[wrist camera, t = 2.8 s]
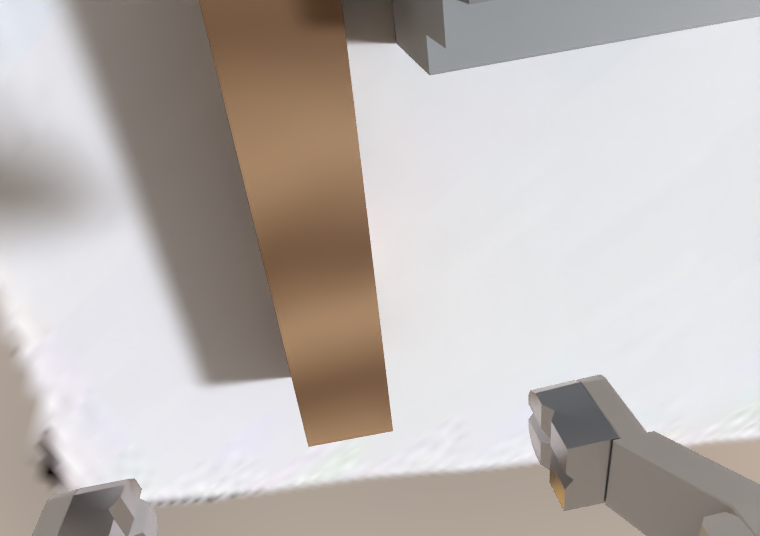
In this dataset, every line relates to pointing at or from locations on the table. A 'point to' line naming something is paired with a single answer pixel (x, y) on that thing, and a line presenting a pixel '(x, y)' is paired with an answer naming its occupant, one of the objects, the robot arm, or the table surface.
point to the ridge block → (541, 26)
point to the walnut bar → (306, 201)
